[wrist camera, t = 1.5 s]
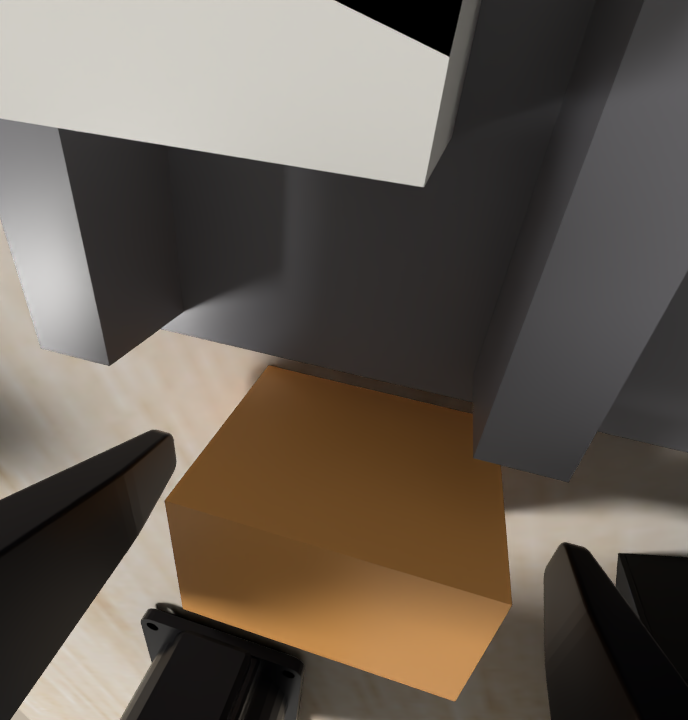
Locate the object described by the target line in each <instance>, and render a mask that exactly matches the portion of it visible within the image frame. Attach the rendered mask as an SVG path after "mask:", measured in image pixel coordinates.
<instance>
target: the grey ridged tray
mask: <svg viewBox="0 0 688 720" xmlns="http://www.w3.org/2000/svg"><path fill="white" fill-rule="evenodd" d="M335 1H337V2H339V3H341V4H343V5H345V6H347V7H349V8H351V9H353V10H355V11H357V12H359V13H361V14H363V15H365V16H367V17H369V18H371V19H373V20H375V21H377V22H379V23H381V24H383V25H385V26H387V27H389V28H391V29H394V30H396V31H398V32H400V33H402V34H404V35H406V36H408V37H410V38H412V39H414V40H416V41H418V42H420V43H422V44H424V45H426V46H428V47H430V48H432V49H434V50H436V51H438V52H440V53H442V54H444V55H446V56H448V57H450V53H451V49H452V44H453V40H454V36H455V31H456V27H457V23H458V18H459V14H460V10H461V5H462V1H463V0H335ZM0 219H1V222H2V225H3V228H4V232H5V235H6V238H7V241H8V245H9V248H10V251H11V254H12V257H13V261H14V264H15V267H16V270H17V274H18V277H19V280H20V283H21V286H22V290H23V293H24V296H25V299H26V302H27V306H28V309H29V312H30V315H31V319H32V322H33V325H34V328H35V331H36V335H37V338H38V341H39V344H40V347H41V349H45V350H49V351H52V352H56V353H60V354H64V355H68V356H72V357H76V358H80V359H84V360H88V361H92V362H96V363H100V364H104V365H108V366H110V365H112V364H113V363H114V362H116V361H117V360H118V359H120V358H121V357H122V356H124V355H125V354H127V353H128V352H129V351H131V350H132V349H133V348H135V347H136V346H138V345H139V344H140V343H142V342H143V341H144V340H146V339H147V338H148V337H150V336H151V335H153V334H154V333H155V332H157V331H158V330H159V329H162V330H167V331H171V332H175V333H179V334H184V335H188V336H192V337H196V338H201V339H205V340H209V341H214V342H218V343H222V344H226V345H231V346H235V347H239V348H243V349H248V350H252V351H256V352H260V353H265V354H269V355H273V356H278V357H282V358H286V359H290V360H295V361H299V362H303V363H307V364H312V365H316V366H320V367H324V368H329V369H333V370H337V371H342V372H346V373H350V374H354V375H359V376H363V377H367V378H371V379H376V380H380V381H384V382H389V383H393V384H397V385H401V386H406V387H410V388H414V389H418V390H423V391H427V392H431V393H435V394H440V395H444V396H448V397H453V398H457V399H461V400H465V401H470V402H473V458H474V459H478V460H482V461H486V462H490V463H494V464H498V465H502V466H506V467H510V468H514V469H518V470H522V471H526V472H529V473H533V474H537V475H541V476H545V477H549V478H553V479H557V480H561V481H565V482H569V481H570V479H571V477H572V476H573V474H574V472H575V470H576V468H577V467H578V465H579V463H580V461H581V460H582V458H583V456H584V454H585V452H586V451H587V449H588V447H589V445H590V444H591V442H592V440H593V438H594V436H595V435H596V433H597V431H598V432H602V433H606V434H610V435H615V436H619V437H623V438H628V439H632V440H636V441H640V442H645V443H649V444H653V445H657V446H662V447H666V448H670V449H674V450H679V451H683V452H687V453H688V0H481V5H480V9H479V14H478V19H477V23H476V28H475V32H474V37H473V42H472V46H471V51H470V55H469V60H468V65H467V69H466V74H465V78H464V83H463V88H462V92H461V97H460V101H459V106H458V111H457V115H456V120H455V124H454V129H453V134H452V137H451V139H450V141H449V143H448V145H447V146H446V148H445V150H444V152H443V154H442V155H441V157H440V159H439V161H438V163H437V164H436V166H435V168H434V170H433V172H432V174H431V175H430V177H429V179H428V181H427V183H426V184H425V186H424V187H419V186H413V185H406V184H400V183H394V182H388V181H382V180H376V179H369V178H363V177H357V176H351V175H345V174H339V173H333V172H326V171H320V170H314V169H308V168H302V167H296V166H289V165H283V164H277V163H271V162H265V161H259V160H253V159H246V158H240V157H234V156H228V155H222V154H216V153H209V152H203V151H197V150H191V149H185V148H179V147H173V146H166V145H160V144H154V143H148V142H142V141H136V140H129V139H123V138H117V137H111V136H105V135H99V134H93V133H86V132H80V131H74V130H68V129H62V128H56V127H49V126H43V125H37V124H31V123H25V122H19V121H12V120H6V119H0Z"/></svg>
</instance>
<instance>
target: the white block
mask: <svg viewBox="0 0 688 720" xmlns="http://www.w3.org/2000/svg"><path fill="white" fill-rule="evenodd" d="M480 5H481V0H463V1H462V5H461V10H460V14H459V18H458V23H457V27H456V31H455V36H454V40H453V44H452V49H451V53H450V57H448V56H446V55H444V54H442V53H440V52H438V51H436V50H434V49H432V48H430V47H428V46H426V45H424V44H422V43H420V42H418V41H416V40H414V39H412V38H410V37H408V36H406V35H404V34H402V33H400V32H398V31H396V30H394V29H391V28H389V27H387V26H385V25H383V24H381V23H379V22H377V21H375V20H373V19H371V18H369V17H367V16H365V15H363V14H361V13H359V12H357V11H355V10H353V9H351V8H349V7H347V6H345V5H343V4H341V3H339V2H337V1H335V0H0V119H6V120H12V121H19V122H25V123H31V124H37V125H43V126H49V127H56V128H62V129H68V130H74V131H80V132H86V133H93V134H99V135H105V136H111V137H117V138H123V139H129V140H136V141H142V142H148V143H154V144H160V145H166V146H173V147H179V148H185V149H191V150H197V151H203V152H209V153H216V154H222V155H228V156H234V157H240V158H246V159H253V160H259V161H265V162H271V163H277V164H283V165H289V166H296V167H302V168H308V169H314V170H320V171H326V172H333V173H339V174H345V175H351V176H357V177H363V178H369V179H376V180H382V181H388V182H394V183H400V184H406V185H413V186H419V187H424V186H425V184H426V183H427V181H428V179H429V177H430V175H431V174H432V172H433V170H434V168H435V166H436V164H437V163H438V161H439V159H440V157H441V155H442V154H443V152H444V150H445V148H446V146H447V145H448V143H449V141H450V139H451V137H452V134H453V129H454V124H455V120H456V115H457V111H458V106H459V101H460V97H461V92H462V88H463V83H464V78H465V74H466V69H467V65H468V60H469V55H470V51H471V46H472V42H473V37H474V32H475V28H476V23H477V19H478V14H479V9H480Z"/></svg>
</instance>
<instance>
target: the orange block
mask: <svg viewBox="0 0 688 720" xmlns="http://www.w3.org/2000/svg"><path fill="white" fill-rule="evenodd" d="M165 506H166V512H167V517H168V523H169V529H170V535H171V541H172V547H173V553H174V559H175V565H176V571H177V577H178V583H179V589H180V594H181V600H182V606H183V609H185V610H188V611H191V612H194V613H197V614H199V615H202V616H205V617H208V618H211V619H214V620H217V621H220V622H223V623H226V624H229V625H232V626H235V627H238V628H241V629H243V630H246V631H249V632H252V633H255V634H258V635H261V636H264V637H267V638H270V639H273V640H276V641H279V642H282V643H284V644H287V645H290V646H293V647H296V648H299V649H302V650H305V651H308V652H311V653H314V654H317V655H320V656H323V657H326V658H328V659H331V660H334V661H337V662H340V663H343V664H346V665H349V666H352V667H355V668H358V669H361V670H364V671H367V672H370V673H372V674H375V675H378V676H381V677H384V678H387V679H390V680H393V681H396V682H399V683H402V684H405V685H408V686H411V687H413V688H416V689H419V690H422V691H425V692H428V693H431V694H434V695H437V696H440V697H443V698H446V699H449V700H452V701H456V699H457V698H458V696H459V694H460V692H461V691H462V689H463V687H464V686H465V684H466V682H467V681H468V679H469V677H470V676H471V674H472V672H473V670H474V669H475V667H476V665H477V664H478V662H479V660H480V659H481V657H482V655H483V654H484V652H485V650H486V649H487V647H488V645H489V643H490V642H491V640H492V638H493V637H494V635H495V633H496V632H497V630H498V628H499V627H500V625H501V623H502V622H503V620H504V618H505V616H506V615H507V613H508V611H509V610H510V608H511V606H512V598H511V585H510V573H509V560H508V548H507V535H506V523H505V511H504V498H503V486H502V473H501V465H498V464H494V463H490V462H486V461H482V460H478V459H474V458H473V414H471V413H467V412H462V411H458V410H454V409H450V408H446V407H441V406H437V405H433V404H429V403H425V402H420V401H416V400H412V399H408V398H404V397H399V396H395V395H391V394H387V393H383V392H379V391H374V390H370V389H366V388H362V387H358V386H353V385H349V384H345V383H341V382H337V381H332V380H328V379H324V378H320V377H316V376H311V375H307V374H303V373H299V372H295V371H290V370H286V369H282V368H278V367H274V366H270V365H269V366H268V367H267V368H266V369H265V371H264V372H263V373H262V375H261V376H260V377H259V379H258V380H257V381H256V382H255V384H254V385H253V386H252V388H251V389H250V390H249V392H248V393H247V394H246V395H245V397H244V398H243V399H242V401H241V402H240V403H239V405H238V406H237V407H236V408H235V410H234V411H233V412H232V414H231V415H230V416H229V418H228V419H227V420H226V421H225V423H224V424H223V425H222V427H221V428H220V429H219V431H218V432H217V433H216V434H215V436H214V437H213V438H212V440H211V441H210V442H209V444H208V445H207V446H206V447H205V449H204V450H203V451H202V453H201V454H200V455H199V457H198V458H197V459H196V460H195V462H194V463H193V464H192V466H191V467H190V468H189V470H188V471H187V472H186V473H185V475H184V476H183V477H182V479H181V480H180V481H179V483H178V484H177V485H176V486H175V488H174V489H173V490H172V492H171V493H170V494H169V496H168V497H167V498H166V499H165Z"/></svg>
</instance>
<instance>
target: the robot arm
mask: <svg viewBox="0 0 688 720" xmlns="http://www.w3.org/2000/svg"><path fill="white" fill-rule="evenodd" d="M175 467H176V454H175V447H174V439H173V436H172V435H171V434H170V433H167V432H163V431H159V430H150V431H148V432H146V433H143V434H141V435H139V436H137V437H135V438H133V439H131V440H128V441H126V442H124V443H122V444H120V445H118V446H115V447H113V448H111V449H109V450H107V451H105V452H102V453H100V454H98V455H96V456H94V457H92V458H90V459H87V460H85V461H83V462H81V463H79V464H77V465H74V466H72V467H70V468H68V469H66V470H64V471H62V472H59V473H57V474H55V475H53V476H51V477H49V478H46V479H44V480H42V481H40V482H38V483H36V484H33V485H31V486H29V487H27V488H25V489H23V490H21V491H18V492H16V493H14V494H12V495H10V496H8V497H5V498H3V499H1V500H0V720H10V719H11V718H12V717H13V715H14V714H15V712H16V711H17V709H18V708H19V707H20V705H21V704H22V702H23V701H24V699H25V698H26V696H27V695H28V694H29V692H30V691H31V689H32V688H33V686H34V685H35V684H36V682H37V681H38V679H39V678H40V676H41V675H42V673H43V672H44V671H45V669H46V668H47V666H48V665H49V663H50V662H51V661H52V659H53V658H54V656H55V655H56V653H57V652H58V650H59V649H60V648H61V646H62V645H63V643H64V642H65V640H66V639H67V637H68V636H69V635H70V633H71V632H72V630H73V629H74V627H75V626H76V625H77V623H78V622H79V620H80V619H81V617H82V616H83V614H84V613H85V612H86V610H87V609H88V607H89V606H90V604H91V603H92V602H93V600H94V599H95V597H96V596H97V594H98V593H99V591H100V590H101V589H102V587H103V586H104V584H105V583H106V581H107V580H108V579H109V577H110V576H111V574H112V573H113V571H114V570H115V568H116V567H117V566H118V564H119V563H120V561H121V560H122V558H123V557H124V555H125V554H126V553H127V551H128V550H129V548H130V547H131V545H132V544H133V542H134V541H135V539H136V538H137V536H138V535H139V533H140V531H141V530H142V528H143V526H144V525H145V523H146V521H147V519H148V517H149V516H150V514H151V512H152V510H153V508H154V507H155V505H156V503H157V501H158V499H159V498H160V496H161V494H162V492H163V490H164V489H165V487H166V485H167V483H168V481H169V479H170V478H171V476H172V474H173V472H174V470H175ZM141 625H142V629H143V632H144V636H145V640H146V643H147V647H148V651H149V654H150V658H151V661H152V664H151V666H150V668H149V669H148V671H147V673H146V675H145V676H144V678H143V680H142V682H141V683H140V685H139V687H138V689H137V690H136V692H135V694H134V696H133V697H132V699H131V701H130V703H129V704H128V706H127V708H126V710H125V711H124V713H123V715H122V717H121V719H120V720H298V715H299V708H300V700H301V692H302V685H303V677H304V670H305V665H304V663H303V662H302V661H301V660H299V659H298V658H296V657H294V656H291V655H288V654H285V653H282V652H279V651H276V650H274V649H271V648H268V647H265V646H262V645H259V644H256V643H253V642H250V641H247V640H244V639H242V638H239V637H236V636H233V635H230V634H227V633H224V632H221V631H218V630H215V629H212V628H210V627H207V626H204V625H201V624H198V623H195V622H192V621H189V620H186V619H183V618H180V617H178V616H175V615H172V614H169V613H166V612H163V611H160V610H157V609H148V610H147V612H146V613H145V615H144V616H143V618H142V619H141ZM544 652H545V671H546V681H547V690H548V698H549V707H550V715H551V720H688V685H687V684H686V682H685V681H684V679H683V678H682V677H681V675H680V674H679V673H678V671H677V670H676V669H675V667H674V666H673V664H672V663H671V662H670V660H669V659H668V658H667V656H666V655H665V654H664V652H663V651H662V649H661V648H660V647H659V645H658V644H657V643H656V641H655V640H654V639H653V637H652V636H651V634H650V633H649V632H648V630H647V629H646V628H645V626H644V625H643V623H642V622H641V621H640V619H639V618H638V617H637V615H636V614H635V613H634V611H633V610H632V608H631V607H630V606H629V604H628V603H627V602H626V600H625V599H624V598H623V596H622V595H621V593H620V592H619V591H618V589H617V588H616V587H615V585H614V584H613V583H612V581H611V580H610V578H609V577H608V576H607V574H606V573H605V572H604V570H603V569H602V568H601V566H600V565H599V563H598V562H597V561H596V559H595V558H594V557H593V555H592V554H591V553H590V551H589V550H587V549H586V548H585V547H582V546H578V545H575V544H571V543H567V542H563V543H561V544H560V545H559V547H558V548H557V550H556V552H555V553H554V555H553V556H552V558H551V560H550V561H549V563H548V565H547V566H546V569H545V573H544Z"/></svg>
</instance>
